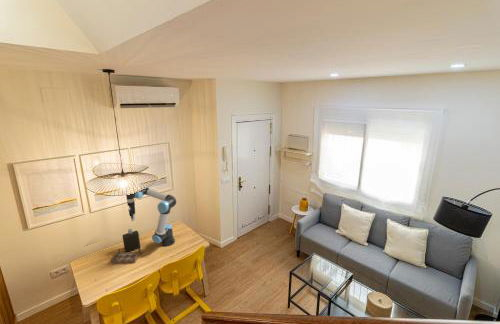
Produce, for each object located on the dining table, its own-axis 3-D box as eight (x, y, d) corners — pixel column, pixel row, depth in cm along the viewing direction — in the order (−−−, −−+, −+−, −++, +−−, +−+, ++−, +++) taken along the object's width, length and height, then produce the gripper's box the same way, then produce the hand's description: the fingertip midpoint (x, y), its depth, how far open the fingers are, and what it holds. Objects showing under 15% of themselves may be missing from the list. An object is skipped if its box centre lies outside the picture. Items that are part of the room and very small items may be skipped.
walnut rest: (141, 252, 272) (140, 248, 271) (135, 262, 255) (134, 258, 254) (119, 253, 271) (118, 249, 269) (111, 264, 253) (110, 259, 252)
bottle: (140, 248, 280) (138, 228, 274) (125, 253, 271) (122, 233, 264) (139, 244, 286) (136, 226, 280) (124, 250, 277) (121, 230, 270)
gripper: (130, 198, 283) (132, 217, 289) (124, 204, 268) (127, 223, 274) (136, 198, 284) (139, 216, 290) (131, 204, 269) (134, 223, 275)
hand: (133, 220), depth 282 cm, fingers open, 3 cm apart
